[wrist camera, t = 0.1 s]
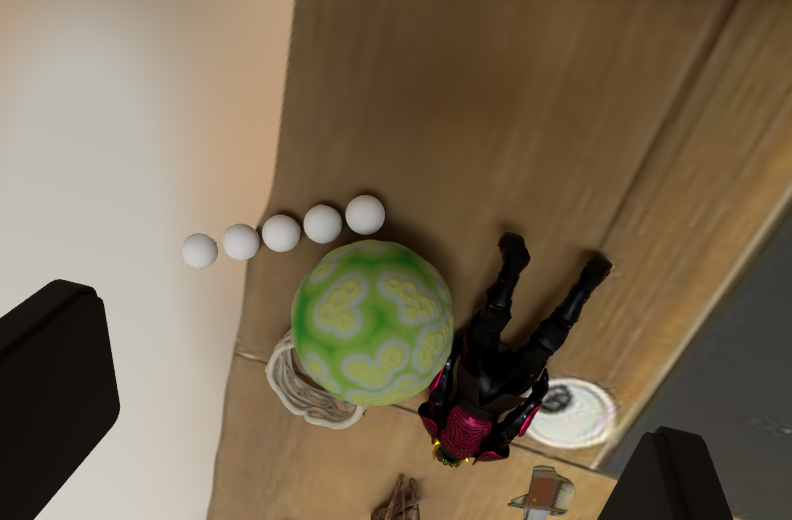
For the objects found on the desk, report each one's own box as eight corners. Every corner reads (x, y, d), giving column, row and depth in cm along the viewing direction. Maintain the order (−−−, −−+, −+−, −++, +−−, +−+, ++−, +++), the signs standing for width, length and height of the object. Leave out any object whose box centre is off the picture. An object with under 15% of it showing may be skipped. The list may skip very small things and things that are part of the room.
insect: (402, 542, 42) (395, 473, 45) (351, 556, 48) (348, 495, 51) (450, 540, 44) (441, 474, 47) (396, 554, 50) (391, 495, 53)
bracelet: (287, 383, 45) (287, 300, 41) (379, 412, 43) (388, 328, 40) (261, 416, 42) (259, 329, 38) (360, 448, 40) (368, 360, 36)
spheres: (189, 233, 40) (201, 265, 40) (167, 242, 38) (180, 276, 38) (384, 187, 35) (394, 224, 36) (372, 195, 33) (383, 235, 33)
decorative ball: (269, 423, 29) (244, 264, 34) (371, 438, 37) (339, 307, 42) (430, 345, 26) (376, 181, 31) (504, 379, 34) (452, 245, 39)
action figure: (452, 187, 35) (373, 394, 46) (423, 225, 30) (343, 446, 41) (679, 285, 33) (539, 478, 44) (687, 343, 28) (528, 543, 39)
